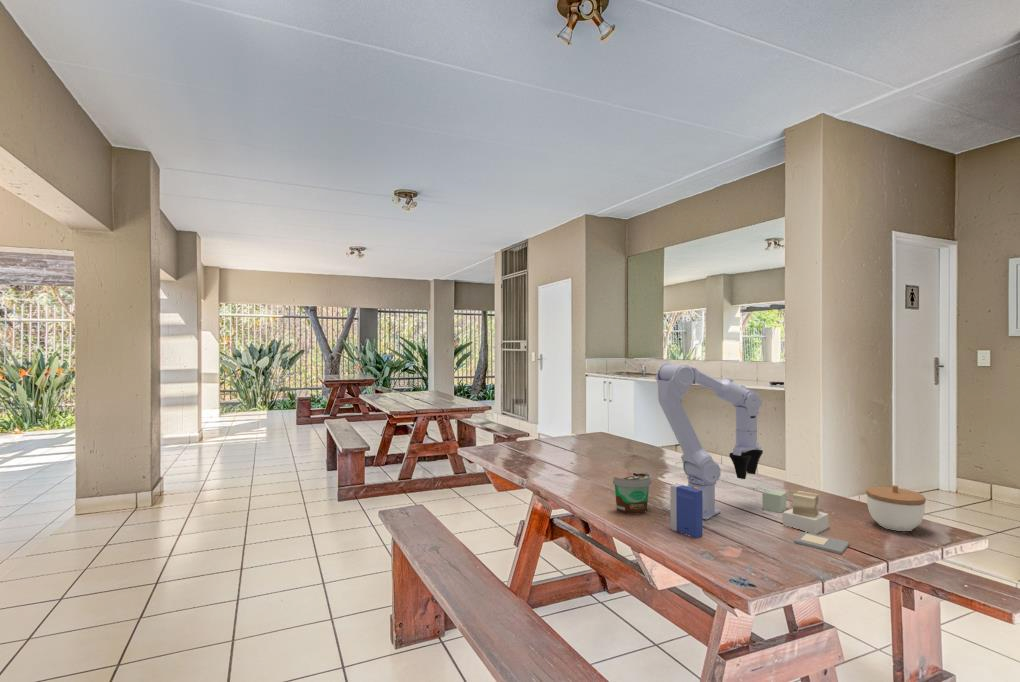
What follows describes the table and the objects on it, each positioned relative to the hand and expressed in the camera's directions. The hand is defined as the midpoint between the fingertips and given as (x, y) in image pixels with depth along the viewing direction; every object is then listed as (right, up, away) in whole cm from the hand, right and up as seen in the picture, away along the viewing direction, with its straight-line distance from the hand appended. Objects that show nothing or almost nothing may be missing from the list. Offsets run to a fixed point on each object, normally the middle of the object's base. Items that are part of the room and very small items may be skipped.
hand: (746, 476), depth 155 cm
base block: (+9, -10, -16) cm, 20 cm away
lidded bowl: (+32, -10, -16) cm, 37 cm away
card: (+6, -9, -27) cm, 30 cm away
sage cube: (+8, -10, -1) cm, 12 cm away
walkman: (-25, -10, -20) cm, 33 cm away
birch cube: (+8, -6, -16) cm, 19 cm away
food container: (-33, -10, -3) cm, 35 cm away
